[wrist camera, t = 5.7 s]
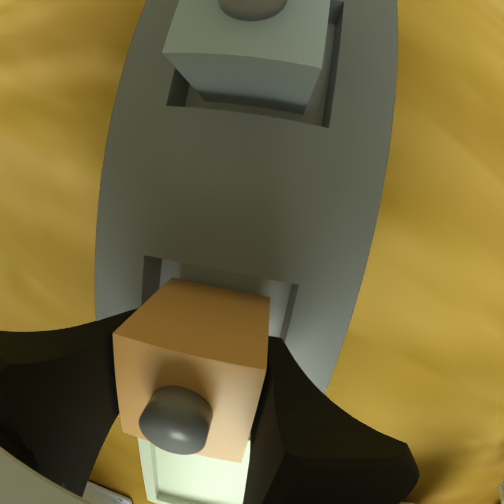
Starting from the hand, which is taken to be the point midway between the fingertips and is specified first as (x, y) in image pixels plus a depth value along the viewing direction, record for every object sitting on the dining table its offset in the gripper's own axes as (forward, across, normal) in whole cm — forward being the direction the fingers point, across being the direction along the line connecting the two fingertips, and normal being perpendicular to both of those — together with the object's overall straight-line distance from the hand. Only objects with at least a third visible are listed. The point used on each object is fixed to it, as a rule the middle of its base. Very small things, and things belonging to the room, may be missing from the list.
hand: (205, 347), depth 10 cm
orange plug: (+2, 0, 0) cm, 2 cm away
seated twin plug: (+3, 0, -11) cm, 11 cm away
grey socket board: (+3, 0, -6) cm, 6 cm away
